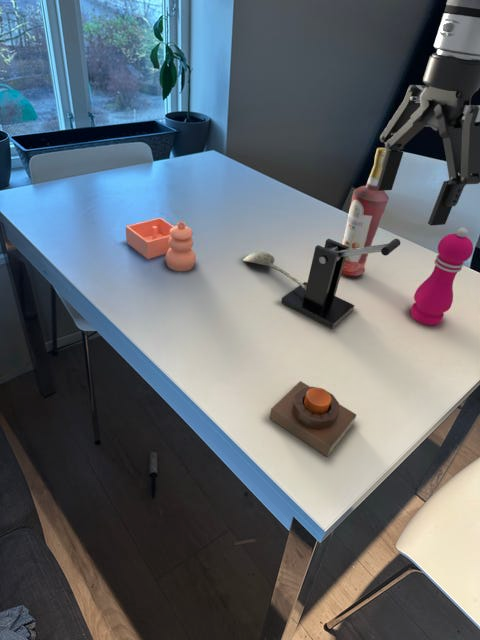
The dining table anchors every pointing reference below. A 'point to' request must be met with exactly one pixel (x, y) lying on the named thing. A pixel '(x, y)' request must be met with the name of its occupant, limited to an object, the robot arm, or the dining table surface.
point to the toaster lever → (368, 249)
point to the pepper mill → (441, 279)
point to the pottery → (163, 242)
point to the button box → (312, 420)
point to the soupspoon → (268, 263)
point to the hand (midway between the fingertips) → (408, 205)
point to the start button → (317, 400)
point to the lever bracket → (322, 288)
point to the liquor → (364, 218)
